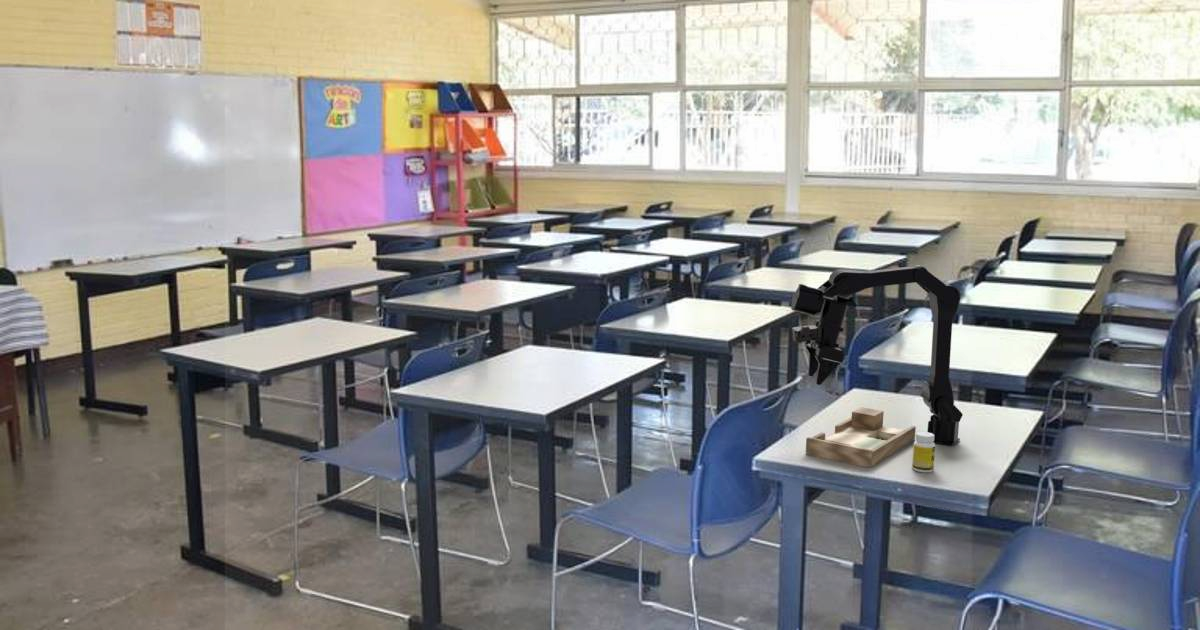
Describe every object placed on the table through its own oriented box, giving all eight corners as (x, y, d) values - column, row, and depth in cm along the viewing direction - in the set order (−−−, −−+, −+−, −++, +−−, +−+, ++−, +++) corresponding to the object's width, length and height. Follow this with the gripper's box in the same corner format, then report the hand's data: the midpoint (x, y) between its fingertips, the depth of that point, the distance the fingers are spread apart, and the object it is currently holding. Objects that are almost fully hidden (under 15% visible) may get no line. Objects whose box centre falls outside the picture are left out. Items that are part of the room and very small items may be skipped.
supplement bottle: (934, 473, 234) (937, 437, 232) (912, 472, 235) (915, 436, 233) (932, 467, 238) (934, 432, 237) (910, 465, 239) (913, 430, 238)
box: (914, 439, 260) (915, 424, 260) (869, 467, 237) (870, 450, 237) (854, 428, 270) (855, 413, 269) (805, 454, 247) (806, 437, 246)
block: (882, 426, 265) (883, 411, 264) (873, 431, 260) (874, 415, 259) (860, 422, 268) (861, 407, 268) (851, 427, 264) (851, 411, 263)
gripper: (792, 306, 263) (776, 364, 266) (807, 318, 245) (790, 381, 248) (834, 316, 264) (818, 374, 266) (852, 329, 246) (834, 392, 248)
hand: (814, 380), depth 257 cm, fingers open, 9 cm apart
